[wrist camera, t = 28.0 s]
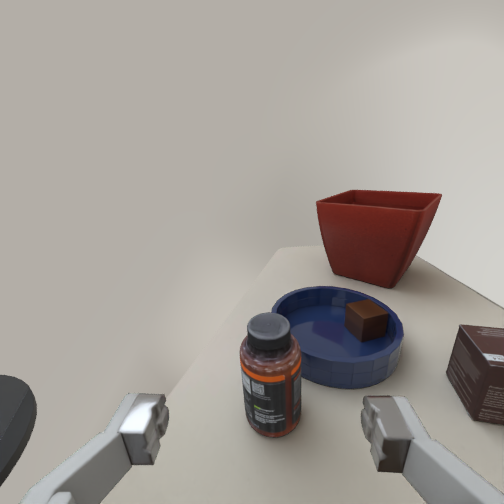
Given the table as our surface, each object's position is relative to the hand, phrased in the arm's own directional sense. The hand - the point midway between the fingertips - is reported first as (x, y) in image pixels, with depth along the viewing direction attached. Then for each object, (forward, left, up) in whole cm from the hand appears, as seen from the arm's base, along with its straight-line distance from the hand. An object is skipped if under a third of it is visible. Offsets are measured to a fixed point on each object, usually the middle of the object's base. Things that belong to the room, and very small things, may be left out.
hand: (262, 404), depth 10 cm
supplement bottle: (+5, +11, -16) cm, 20 cm away
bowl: (+18, +18, -16) cm, 30 cm away
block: (+23, +17, -16) cm, 32 cm away
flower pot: (+40, +33, -16) cm, 54 cm away
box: (+27, +3, -16) cm, 32 cm away
